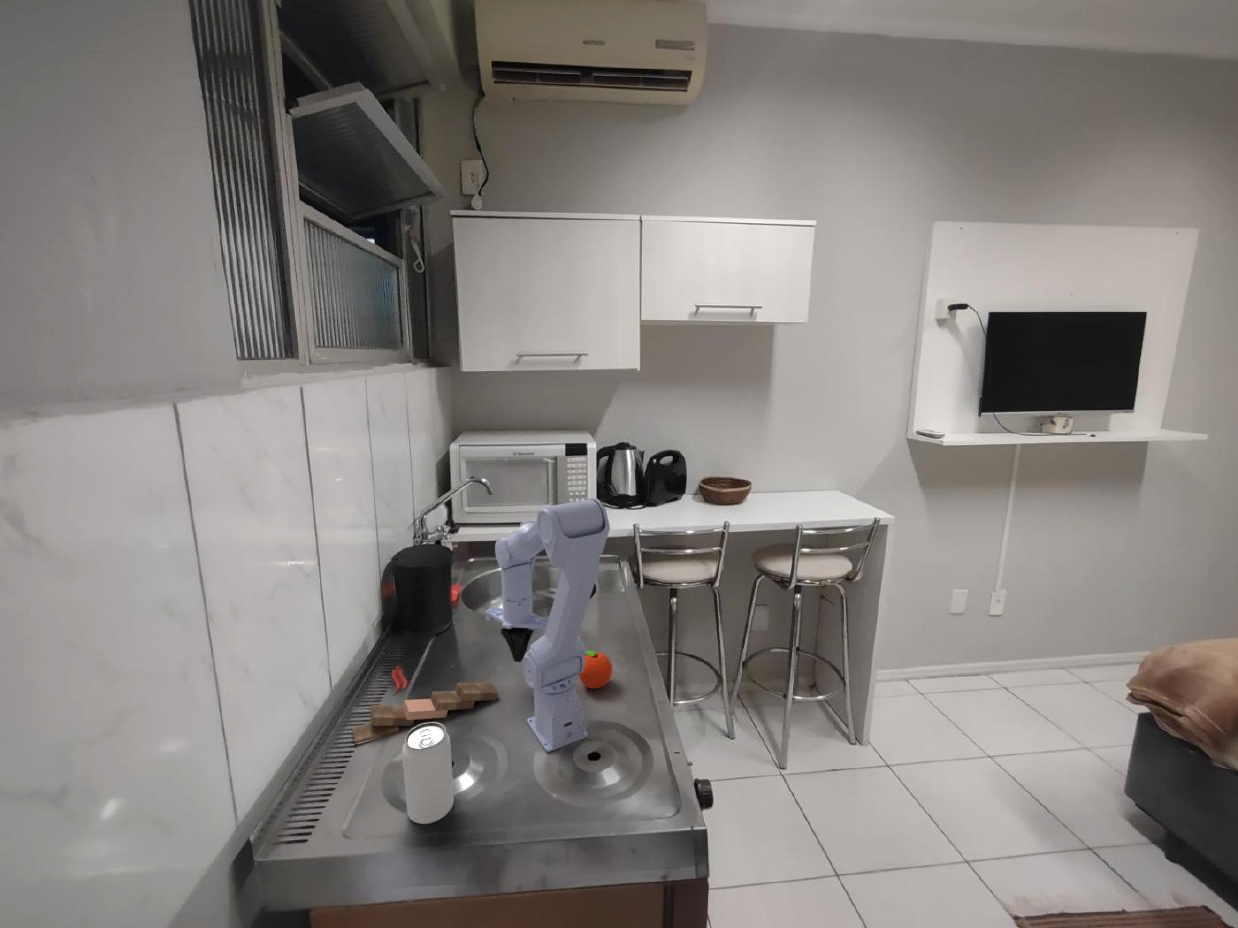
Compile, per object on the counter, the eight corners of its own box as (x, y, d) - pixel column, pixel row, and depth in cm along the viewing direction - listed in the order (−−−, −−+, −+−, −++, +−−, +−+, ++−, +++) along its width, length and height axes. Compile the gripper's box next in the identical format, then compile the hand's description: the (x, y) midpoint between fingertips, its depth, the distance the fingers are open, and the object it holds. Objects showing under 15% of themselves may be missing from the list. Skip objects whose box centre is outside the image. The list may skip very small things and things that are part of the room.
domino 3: (447, 709, 98) (409, 711, 94) (445, 717, 98) (407, 719, 94) (442, 698, 102) (404, 699, 98) (440, 705, 102) (402, 707, 98)
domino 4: (474, 700, 101) (437, 702, 97) (472, 708, 101) (435, 710, 97) (468, 690, 104) (432, 691, 100) (466, 697, 104) (430, 699, 100)
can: (408, 832, 74) (402, 756, 72) (406, 798, 80) (400, 726, 78) (456, 817, 77) (452, 742, 74) (451, 785, 82) (447, 715, 80)
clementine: (567, 685, 108) (566, 653, 107) (589, 670, 114) (589, 639, 112) (597, 700, 103) (597, 666, 102) (619, 683, 109) (619, 651, 108)
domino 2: (398, 727, 94) (354, 741, 91) (399, 734, 94) (355, 748, 91) (394, 714, 98) (352, 727, 94) (395, 721, 98) (353, 735, 94)
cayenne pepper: (402, 698, 104) (401, 689, 104) (377, 699, 104) (376, 690, 104) (418, 665, 116) (418, 657, 116) (397, 666, 116) (396, 657, 115)
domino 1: (414, 717, 96) (373, 717, 92) (412, 725, 96) (370, 725, 92) (412, 705, 99) (372, 704, 96) (410, 713, 99) (369, 712, 96)
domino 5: (498, 692, 103) (463, 693, 99) (496, 700, 103) (461, 700, 99) (491, 682, 107) (457, 682, 103) (489, 689, 107) (455, 690, 103)
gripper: (474, 596, 104) (477, 660, 106) (536, 610, 98) (538, 678, 100) (497, 583, 110) (499, 644, 112) (557, 596, 104) (558, 660, 106)
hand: (519, 659), depth 107 cm, fingers closed
